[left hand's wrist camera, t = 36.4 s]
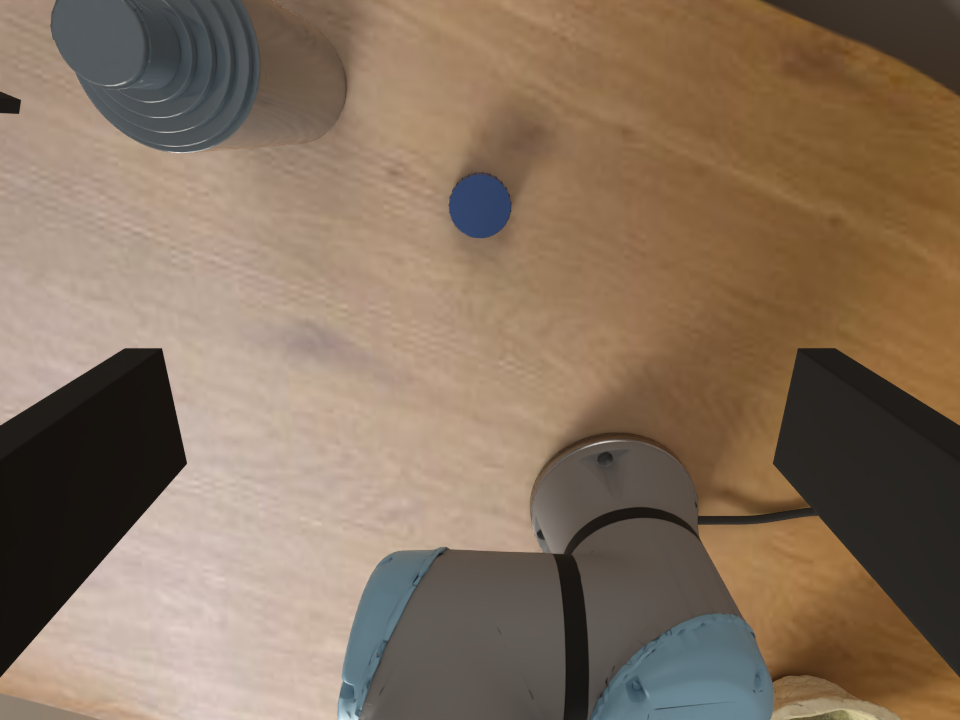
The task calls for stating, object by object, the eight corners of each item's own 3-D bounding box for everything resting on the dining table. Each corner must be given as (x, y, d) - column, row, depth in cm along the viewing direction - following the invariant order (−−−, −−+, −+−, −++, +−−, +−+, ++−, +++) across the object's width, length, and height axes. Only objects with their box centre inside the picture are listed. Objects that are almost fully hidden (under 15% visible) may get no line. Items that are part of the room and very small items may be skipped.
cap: (445, 176, 44) (443, 179, 42) (506, 167, 44) (507, 169, 42) (455, 237, 46) (453, 242, 44) (513, 229, 46) (515, 234, 44)
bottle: (346, 21, 40) (204, -92, 20) (346, 148, 43) (223, 167, 23) (225, 10, 40) (-50, -118, 19) (234, 138, 43) (5, 148, 22)
